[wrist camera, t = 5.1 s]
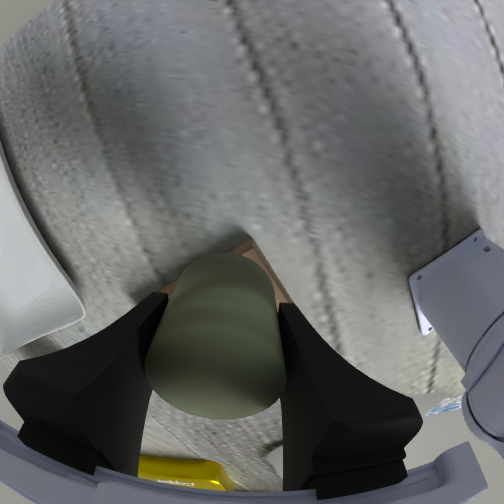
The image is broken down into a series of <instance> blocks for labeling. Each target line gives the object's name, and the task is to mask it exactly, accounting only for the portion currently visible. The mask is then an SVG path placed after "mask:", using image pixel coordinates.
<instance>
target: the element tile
mask: <svg viewBox="0 0 504 504" xmlns="http://www.w3.org/2000/svg"><path fill="white" fill-rule="evenodd" d="M138 478H142V479H146V480H151V481H156V482H161V483H166V484H172V485H177V486H184V487H191V488H199V489H208V490H219V491H234V483H233V482H232V480H231V479H230V477H229V476H228V474H227V473H226V471H225V470H224V468H223V467H222V465H221V464H219V463H217V462H214V461H206V460H185V459H171V458H161V457H152V456H144V455H140V457H139V468H138Z"/></svg>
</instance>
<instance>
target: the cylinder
mask: <svg viewBox="0 0 504 504" xmlns="http://www.w3.org/2000/svg"><path fill="white" fill-rule="evenodd" d="M144 367H145V374H146V377H147V380H148V382H149V384H150V385H151V387H152V388H153V390H154V391H155V392H156V393H157V394H158V395H159V396H160V397H161V398H162V399H163V400H165V401H166V402H167V403H169V404H170V405H172V406H174V407H175V408H177V409H179V410H181V411H184V412H186V413H189V414H192V415H195V416H199V417H204V418H210V419H237V418H243V417H248V416H251V415H254V414H257V413H259V412H261V411H264V410H265V409H267V408H269V407H270V406H271V405H273V404H274V403H275V402H276V401H277V400H278V399H279V398H280V396H281V395H282V393H283V391H284V389H285V385H286V370H285V363H284V356H283V348H282V341H281V334H280V327H279V320H278V313H277V306H276V299H275V292H274V287H273V284H272V281H271V279H270V277H269V276H268V274H267V273H266V272H265V270H264V269H263V268H262V267H261V266H259V265H258V264H257V263H256V262H254V261H252V260H251V259H249V258H247V257H244V256H242V255H238V254H234V253H227V252H219V253H211V254H207V255H204V256H201V257H199V258H197V259H195V260H194V261H192V262H191V263H190V264H189V265H188V266H187V267H186V268H185V269H184V270H183V271H182V273H181V275H180V277H179V279H178V281H177V283H176V286H175V288H174V290H173V293H172V295H171V297H170V299H169V302H168V304H167V307H166V309H165V311H164V314H163V316H162V318H161V321H160V323H159V326H158V328H157V331H156V333H155V335H154V338H153V340H152V343H151V345H150V348H149V350H148V353H147V356H146V359H145V365H144Z"/></svg>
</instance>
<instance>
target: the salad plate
mask: <svg viewBox="0 0 504 504" xmlns="http://www.w3.org/2000/svg"><path fill="white" fill-rule="evenodd" d="M85 316H86V307H85V304H84V301H83V298H82V296H81V294H80V293H79V291H78V289H77V288H76V286H75V285H74V283H73V282H72V281H71V279H70V278H69V276H68V275H67V274H66V272H65V271H64V269H63V268H62V267H61V265H60V264H59V262H58V261H57V259H56V258H55V256H54V255H53V253H52V252H51V250H50V249H49V247H48V245H47V244H46V242H45V241H44V239H43V237H42V235H41V234H40V232H39V230H38V228H37V226H36V225H35V223H34V221H33V219H32V217H31V215H30V213H29V211H28V209H27V207H26V205H25V203H24V201H23V199H22V197H21V195H20V192H19V190H18V188H17V186H16V183H15V181H14V178H13V176H12V173H11V171H10V168H9V165H8V162H7V160H6V157H5V154H4V150H3V147H2V144H1V140H0V355H1V356H4V355H7V354H9V353H11V352H12V351H14V350H16V349H18V348H20V347H22V346H23V345H25V344H27V343H29V342H31V341H33V340H35V339H38V338H40V337H42V336H44V335H47V334H50V333H52V332H55V331H58V330H60V329H63V328H65V327H68V326H70V325H72V324H74V323H76V322H78V321H80V320H82V319H83V318H84V317H85Z"/></svg>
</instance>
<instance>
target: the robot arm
mask: <svg viewBox="0 0 504 504" xmlns="http://www.w3.org/2000/svg"><path fill="white" fill-rule="evenodd" d="M474 238H475V239H474ZM419 275H420V277H419V278H418V276H419ZM409 285H410V288H411V292H412V296H413V300H414V304H415V308H416V312H417V317H418V321H419V326H420V331H421V333H422V335H426V334H428V333H430V332H431V331H433V330H435V331H436V332H437V334H438V335H439V336H440V338H441V339H442V340H443V342H444V343H445V344H446V346H447V347H448V349H449V350H450V351H451V353H452V354H453V356H454V357H455V359H456V360H457V362H458V363H459V364H460V366H461V367H462V369H463V370H464V372H465V373H466V374H465V376H464V377H463V379H462V380H461V383H462V384H463V386H464V387H465V389H466V391H465V393H464V395H463V397H462V411H463V416H464V420H465V422H466V424H467V426H468V428H469V429H470V431H471V432H472V433H473V434H474V435H475V436H476V437H477V438H478V439H479V440H481V441H483V442H485V443H487V444H489V445H490V446H491V447H493V448H494V449H495V450H496V451H497V452H498V453H499V454H500V455H501V456H502V458H503V459H504V249H503V248H501V247H500V246H498V245H497V244H495V243H494V242H492V241H490V240H489V239H487V238H486V234H485V230H484V229H482V228H481V229H479V230H478V231H476V232H475V233H473V234H472V235H471V236H469V237H468V238H466V239H465V240H464V241H462V242H461V243H459V244H458V245H457V246H455V247H454V248H452V249H451V250H449V251H448V252H446V253H445V254H443V255H442V256H440V257H439V258H437V259H436V260H434V261H433V262H431V263H430V264H428V265H426V266H425V267H423V268H422V269H420V270H418V271H417V272H415V273H414V274H412V275H411V276H410V277H409ZM167 304H168V293H161V292H153V293H152V294H150V295H149V296H148V297H146V298H145V299H144V300H143V301H141V302H140V303H139V304H138V305H136V306H135V307H134V308H133V309H131V310H130V311H129V312H127V313H126V314H125V315H124V316H122V317H121V318H119V319H118V320H116V321H115V322H113V323H112V324H111V325H109V326H108V327H106V328H105V329H103V330H101V331H100V332H98V333H96V334H94V335H93V336H91V337H89V338H87V339H85V340H83V341H81V342H79V343H76V344H74V345H72V346H70V347H67V348H65V349H62V350H59V351H57V352H54V353H50V354H47V355H44V356H40V357H36V358H31V359H27V360H22V361H19V362H18V364H17V365H16V367H15V368H14V369H13V371H12V372H11V374H10V375H9V377H8V378H7V380H6V381H5V383H4V384H3V389H4V392H5V395H6V397H7V398H8V400H9V402H10V403H11V404H12V406H13V407H14V408H15V410H16V411H17V413H18V414H19V415H20V416H21V418H22V419H23V420H24V424H23V425H22V428H21V429H20V431H18V430H16V429H14V428H13V427H11V426H9V425H7V424H6V423H4V422H2V421H1V420H0V481H1V482H2V483H4V484H5V485H7V486H8V487H10V488H11V489H13V490H14V491H16V492H17V493H19V494H20V495H22V496H24V497H25V498H27V499H28V500H30V501H32V502H33V503H35V504H464V503H466V502H467V501H469V500H470V499H472V498H474V497H475V496H477V495H478V494H480V493H481V492H483V491H484V490H486V489H487V488H488V485H487V482H486V480H485V477H484V475H483V472H482V470H481V468H480V465H479V463H478V461H477V459H476V457H475V454H474V452H473V450H472V448H471V446H470V444H469V442H464V443H462V444H460V445H458V446H455V447H453V448H450V449H448V450H446V451H445V452H443V453H442V454H440V455H439V456H438V457H437V458H436V459H435V460H434V462H431V463H428V464H425V465H422V466H419V467H416V468H414V469H410V470H407V471H406V468H405V465H404V462H403V459H404V458H405V457H406V453H405V450H404V447H405V446H406V445H407V444H408V443H409V442H410V441H411V440H412V439H413V438H414V437H415V436H416V434H417V433H418V432H419V430H420V429H421V427H422V424H423V420H422V417H421V415H420V413H419V410H418V408H417V406H416V404H415V402H414V400H413V399H412V398H410V397H408V396H405V395H403V394H401V393H398V392H396V391H394V390H391V389H389V388H387V387H386V386H384V385H382V384H380V383H378V382H376V381H375V380H373V379H371V378H370V377H368V376H367V375H365V374H364V373H362V372H361V371H359V370H358V369H356V368H355V367H354V366H352V365H351V364H350V363H348V362H347V361H346V360H345V359H344V358H343V357H341V356H340V355H339V354H338V353H337V352H336V351H335V350H333V349H332V348H331V347H330V346H329V345H328V343H327V342H326V341H325V340H324V339H323V338H322V337H321V336H320V335H319V334H318V333H317V331H316V330H315V329H314V328H313V327H312V325H311V324H310V323H309V322H308V320H307V319H306V318H305V316H304V315H303V314H302V313H301V311H300V310H299V309H298V307H297V306H296V305H295V303H281V302H280V303H279V309H278V320H279V327H280V334H281V341H282V348H283V356H284V363H285V370H286V385H285V389H284V391H283V393H282V395H281V396H280V402H281V410H282V428H283V492H235V491H219V490H208V489H199V488H191V487H184V486H177V485H172V484H166V483H161V482H156V481H151V480H146V479H142V478H138V468H139V457H140V449H141V442H142V435H143V429H144V424H145V418H146V413H147V409H148V404H149V400H150V396H151V393H152V390H153V388H152V387H151V385H150V384H149V382H148V380H147V377H146V374H145V367H144V365H145V359H146V356H147V353H148V350H149V348H150V345H151V343H152V340H153V338H154V335H155V333H156V331H157V328H158V326H159V323H160V321H161V318H162V316H163V314H164V311H165V309H166V307H167Z"/></svg>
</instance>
